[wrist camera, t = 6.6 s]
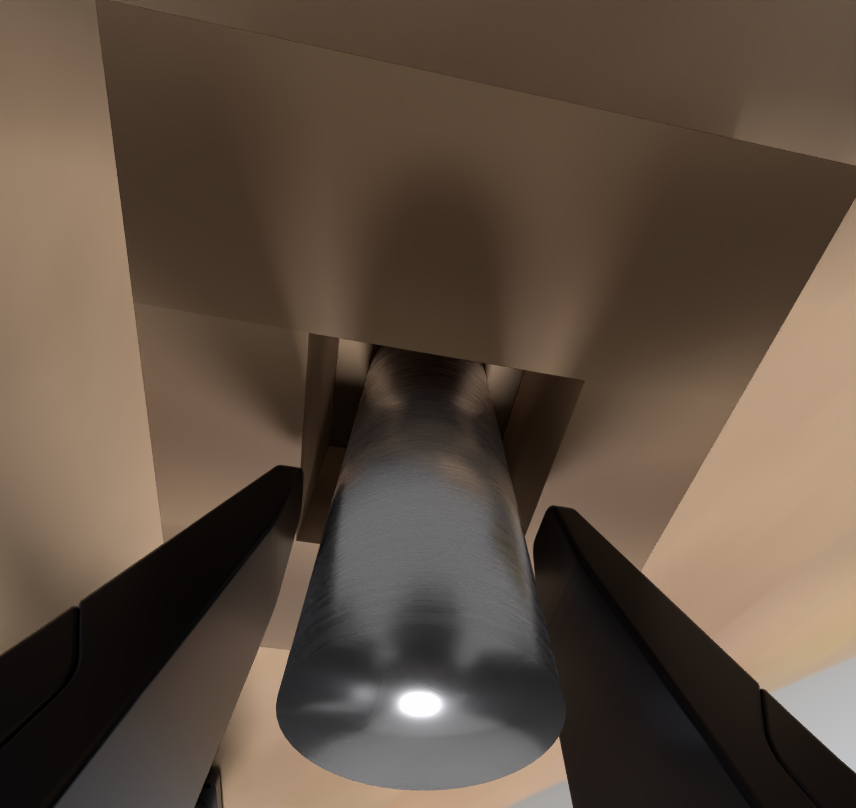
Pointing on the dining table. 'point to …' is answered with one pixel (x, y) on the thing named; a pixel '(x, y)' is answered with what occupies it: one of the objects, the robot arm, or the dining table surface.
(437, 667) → the peg
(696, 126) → the dining table surface
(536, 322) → the hole block
